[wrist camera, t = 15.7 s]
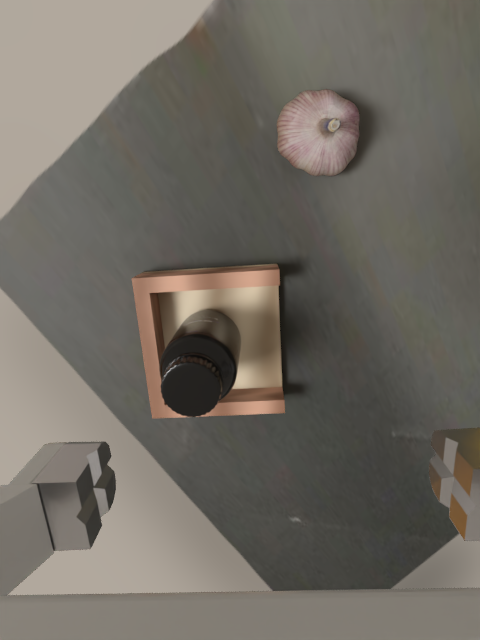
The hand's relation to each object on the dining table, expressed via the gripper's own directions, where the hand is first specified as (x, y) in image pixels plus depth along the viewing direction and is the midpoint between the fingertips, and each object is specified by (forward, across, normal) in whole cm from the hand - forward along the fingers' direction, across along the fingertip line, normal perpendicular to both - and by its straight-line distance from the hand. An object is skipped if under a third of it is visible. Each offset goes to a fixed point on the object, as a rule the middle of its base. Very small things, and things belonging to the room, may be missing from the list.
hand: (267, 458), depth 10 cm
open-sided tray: (+31, +5, +7) cm, 32 cm away
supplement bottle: (+30, +6, +7) cm, 32 cm away
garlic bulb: (+31, -6, -12) cm, 34 cm away
